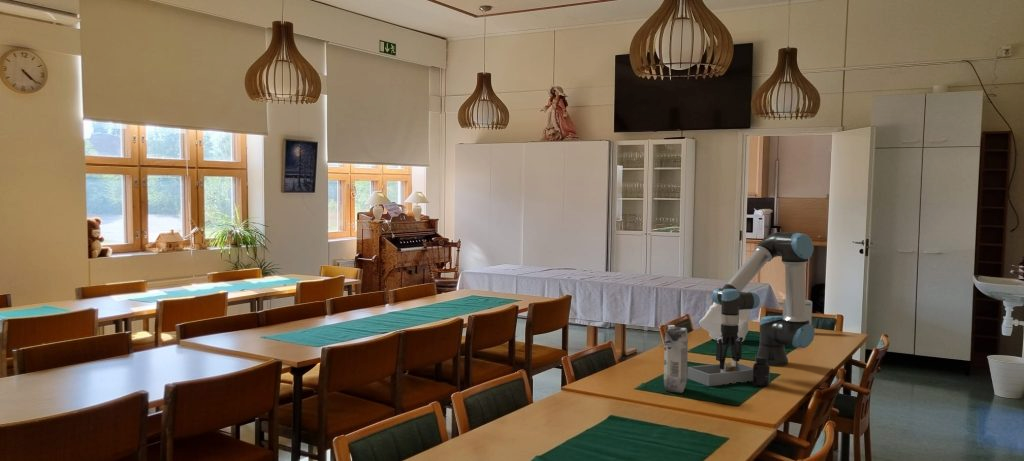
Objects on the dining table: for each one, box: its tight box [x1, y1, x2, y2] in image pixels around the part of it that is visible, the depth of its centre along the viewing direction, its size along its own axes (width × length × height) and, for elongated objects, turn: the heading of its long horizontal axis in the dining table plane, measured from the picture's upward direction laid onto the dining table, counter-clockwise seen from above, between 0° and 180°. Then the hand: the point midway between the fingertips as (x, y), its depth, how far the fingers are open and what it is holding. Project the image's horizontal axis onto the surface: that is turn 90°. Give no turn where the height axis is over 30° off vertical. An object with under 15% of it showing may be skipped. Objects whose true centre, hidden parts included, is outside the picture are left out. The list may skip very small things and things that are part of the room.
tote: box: [687, 362, 753, 387], centre depth 320 cm, size 28×15×5 cm, turn 114°
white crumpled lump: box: [698, 302, 751, 343], centre depth 411 cm, size 21×27×26 cm
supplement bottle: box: [752, 356, 771, 388], centre depth 311 cm, size 7×7×12 cm
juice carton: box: [663, 324, 689, 394], centre depth 301 cm, size 9×10×27 cm
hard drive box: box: [782, 298, 813, 325], centre depth 437 cm, size 16×8×20 cm, turn 81°
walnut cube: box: [720, 364, 737, 373], centre depth 321 cm, size 5×5×5 cm
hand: (728, 375), depth 322 cm, fingers closed on walnut cube, 5 cm apart
